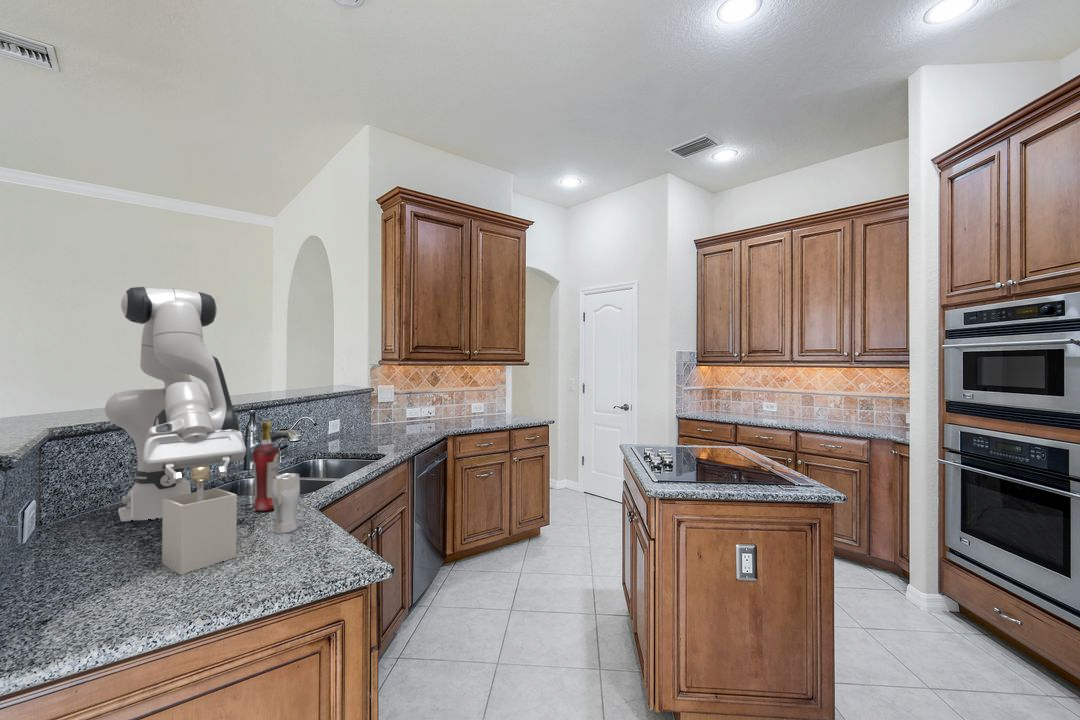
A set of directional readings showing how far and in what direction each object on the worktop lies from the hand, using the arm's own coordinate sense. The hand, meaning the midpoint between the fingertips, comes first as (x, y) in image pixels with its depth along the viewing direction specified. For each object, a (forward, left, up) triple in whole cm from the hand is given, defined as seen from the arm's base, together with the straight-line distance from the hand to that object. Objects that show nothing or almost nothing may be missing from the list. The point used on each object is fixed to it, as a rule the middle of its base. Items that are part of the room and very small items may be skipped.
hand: (201, 478), depth 108 cm
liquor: (-29, +28, -20) cm, 45 cm away
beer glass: (-5, +22, -20) cm, 30 cm away
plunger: (-1, 0, -17) cm, 17 cm away
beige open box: (-1, 0, -19) cm, 19 cm away
